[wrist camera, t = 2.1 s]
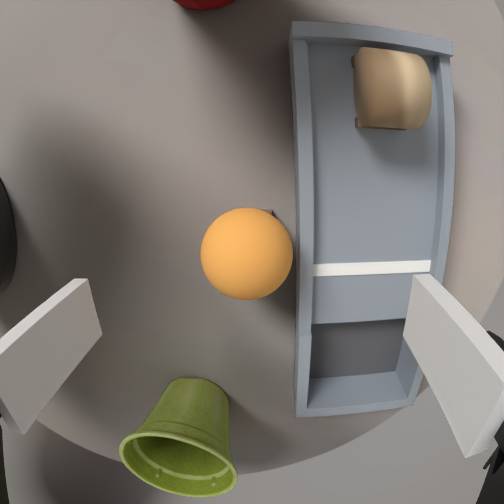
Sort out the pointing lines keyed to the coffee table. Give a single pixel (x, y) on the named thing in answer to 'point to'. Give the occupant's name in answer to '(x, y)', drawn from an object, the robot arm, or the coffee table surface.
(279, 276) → the ball
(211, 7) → the plastic cup
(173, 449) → the plant pot
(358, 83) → the block
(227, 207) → the coffee table surface
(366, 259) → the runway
